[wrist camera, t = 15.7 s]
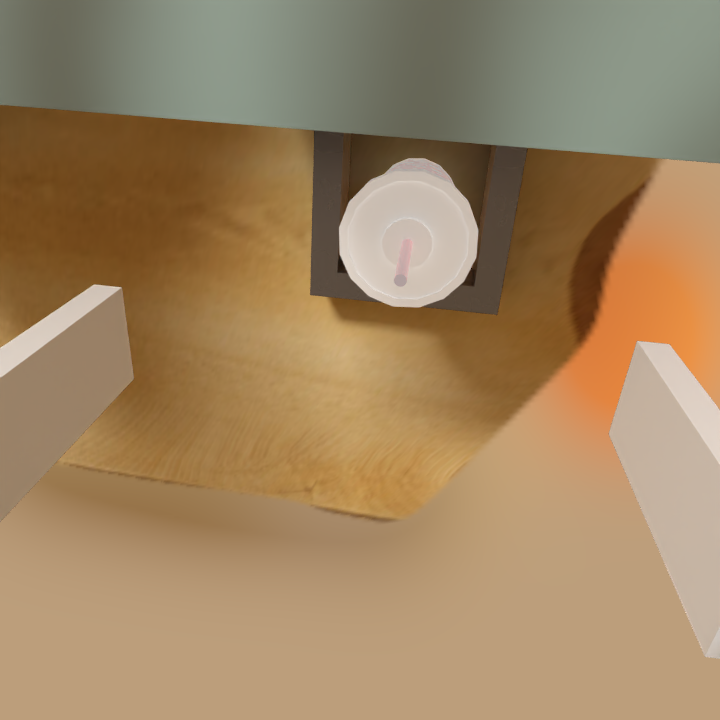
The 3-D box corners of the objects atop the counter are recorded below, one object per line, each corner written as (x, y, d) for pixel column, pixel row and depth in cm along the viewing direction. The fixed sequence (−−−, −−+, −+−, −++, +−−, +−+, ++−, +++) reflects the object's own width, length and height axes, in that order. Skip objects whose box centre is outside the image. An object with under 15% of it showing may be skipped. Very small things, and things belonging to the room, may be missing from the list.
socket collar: (320, 277, 37) (310, 294, 34) (326, 89, 32) (315, 92, 30) (493, 295, 36) (497, 314, 33) (527, 105, 31) (534, 109, 29)
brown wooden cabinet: (258, 70, 32) (-87, 97, 11) (256, -56, 30) (-194, -317, 9) (603, 95, 31) (931, 180, 10) (632, -36, 28) (1163, -295, 7)
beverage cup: (341, 183, 34) (284, 254, 22) (433, 119, 32) (428, 158, 20) (399, 271, 36) (376, 382, 24) (489, 215, 34) (517, 306, 22)
